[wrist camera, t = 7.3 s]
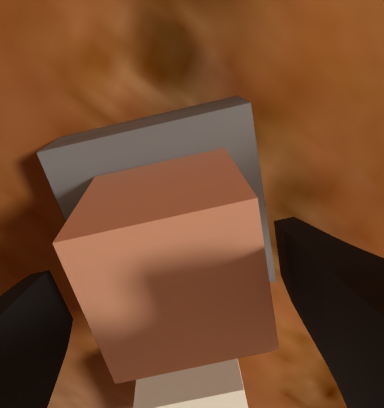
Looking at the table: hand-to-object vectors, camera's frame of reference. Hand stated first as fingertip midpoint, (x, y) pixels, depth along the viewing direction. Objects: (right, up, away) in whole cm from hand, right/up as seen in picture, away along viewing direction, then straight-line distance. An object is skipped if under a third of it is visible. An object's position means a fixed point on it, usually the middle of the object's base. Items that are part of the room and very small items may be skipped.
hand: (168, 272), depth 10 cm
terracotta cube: (0, +2, +3) cm, 3 cm away
